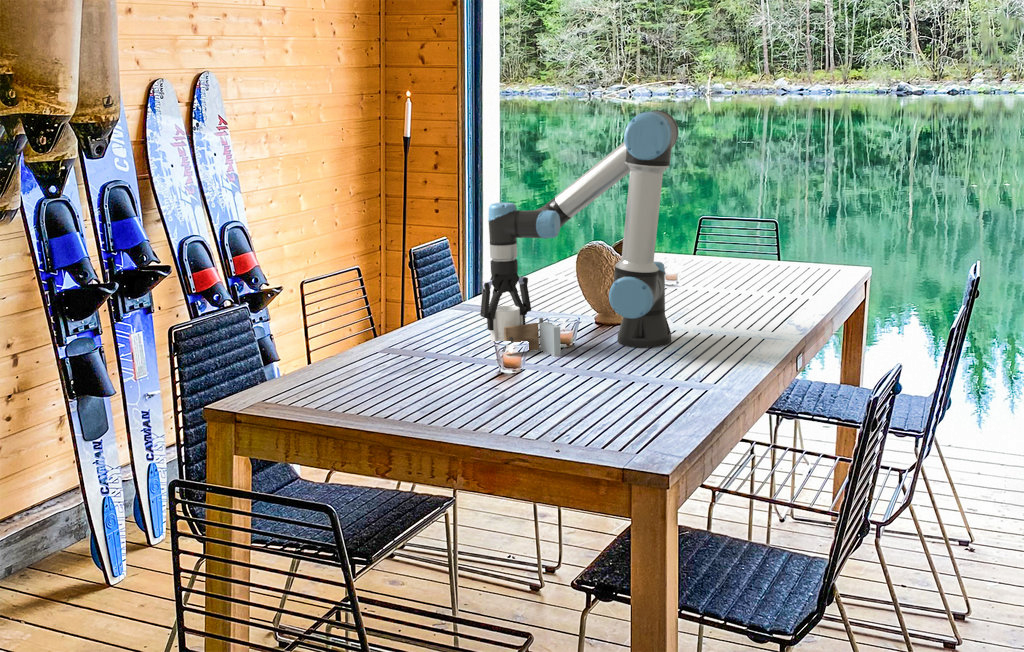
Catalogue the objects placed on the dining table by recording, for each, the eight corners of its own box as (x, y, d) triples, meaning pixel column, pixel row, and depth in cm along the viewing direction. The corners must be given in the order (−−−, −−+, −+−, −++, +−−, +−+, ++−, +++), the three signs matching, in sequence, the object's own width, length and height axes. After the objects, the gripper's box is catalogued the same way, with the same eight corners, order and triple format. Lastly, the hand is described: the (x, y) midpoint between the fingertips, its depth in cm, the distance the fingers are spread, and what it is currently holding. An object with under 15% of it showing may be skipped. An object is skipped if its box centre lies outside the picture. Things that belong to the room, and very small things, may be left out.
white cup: (526, 341, 313) (525, 307, 311) (509, 347, 307) (508, 312, 305) (504, 338, 318) (503, 304, 316) (487, 344, 312) (486, 309, 310)
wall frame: (560, 355, 303) (559, 323, 301) (554, 356, 302) (553, 324, 300) (508, 335, 329) (507, 305, 327) (502, 336, 328) (501, 306, 326)
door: (537, 348, 310) (536, 322, 308) (541, 350, 308) (540, 324, 306) (505, 353, 306) (504, 327, 304) (508, 355, 304) (507, 328, 302)
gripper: (529, 253, 315) (532, 331, 320) (464, 261, 306) (468, 341, 311) (542, 256, 309) (545, 336, 314) (476, 264, 299) (480, 347, 304)
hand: (507, 339), depth 312 cm, fingers closed on white cup, 8 cm apart
